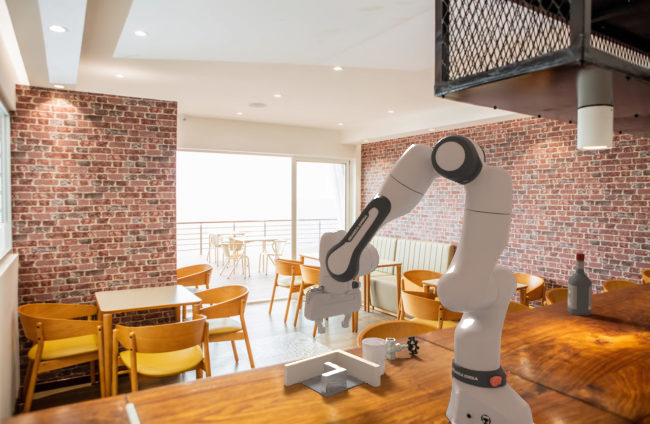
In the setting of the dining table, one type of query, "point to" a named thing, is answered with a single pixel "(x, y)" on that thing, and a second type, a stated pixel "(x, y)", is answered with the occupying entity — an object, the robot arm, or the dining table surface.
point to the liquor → (579, 290)
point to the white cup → (375, 351)
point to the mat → (316, 386)
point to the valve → (400, 347)
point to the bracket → (333, 378)
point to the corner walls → (348, 361)
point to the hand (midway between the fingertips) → (333, 330)
